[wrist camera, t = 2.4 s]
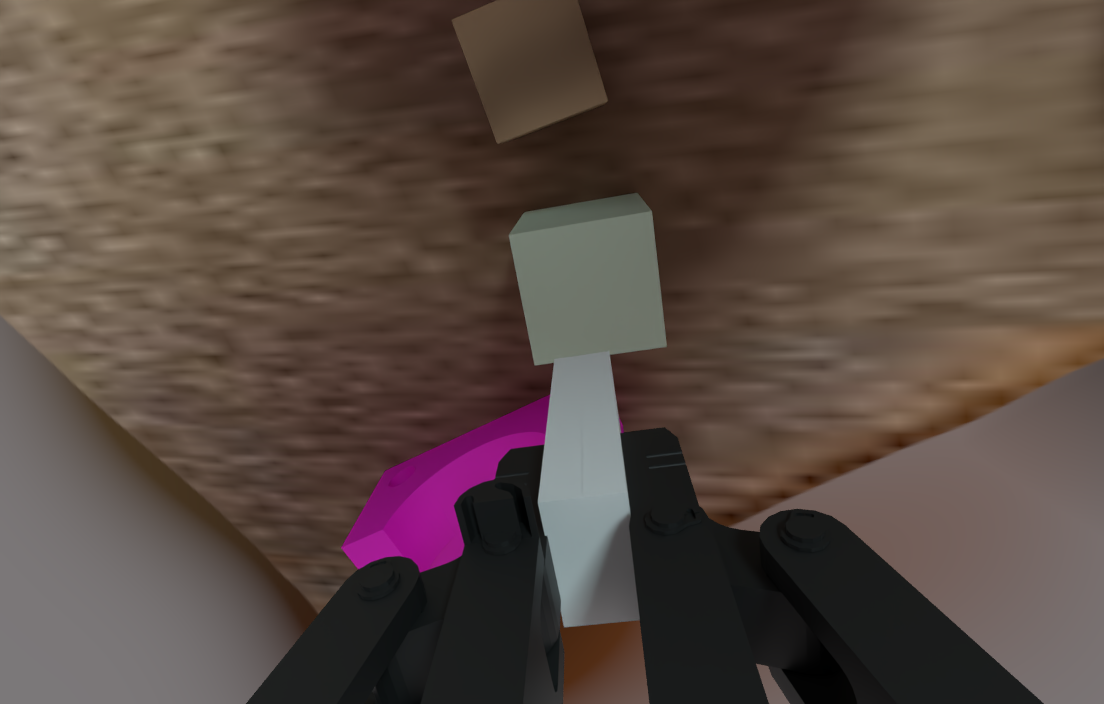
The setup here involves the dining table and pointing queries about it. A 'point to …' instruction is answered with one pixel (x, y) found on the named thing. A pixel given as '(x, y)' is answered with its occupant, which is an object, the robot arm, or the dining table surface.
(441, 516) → the toy block
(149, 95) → the dining table surface
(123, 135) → the dining table surface
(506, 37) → the walnut block
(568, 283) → the sage block
